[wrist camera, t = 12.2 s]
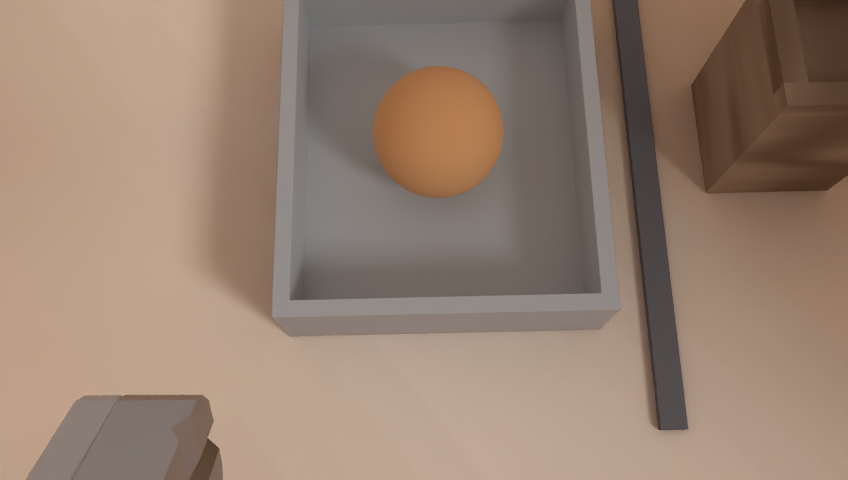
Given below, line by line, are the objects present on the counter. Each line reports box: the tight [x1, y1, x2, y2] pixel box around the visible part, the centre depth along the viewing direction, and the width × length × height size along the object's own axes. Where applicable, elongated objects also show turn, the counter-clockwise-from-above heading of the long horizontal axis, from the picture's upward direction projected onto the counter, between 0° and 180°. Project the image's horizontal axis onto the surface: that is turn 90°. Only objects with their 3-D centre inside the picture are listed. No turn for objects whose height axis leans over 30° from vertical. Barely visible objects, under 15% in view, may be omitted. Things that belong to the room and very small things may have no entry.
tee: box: [691, 0, 848, 193], centre depth 29 cm, size 5×5×8 cm
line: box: [613, 0, 688, 430], centre depth 33 cm, size 1×22×1 cm, turn 0°
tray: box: [272, 0, 620, 336], centre depth 31 cm, size 12×14×4 cm
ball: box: [373, 66, 504, 198], centre depth 30 cm, size 5×5×5 cm
